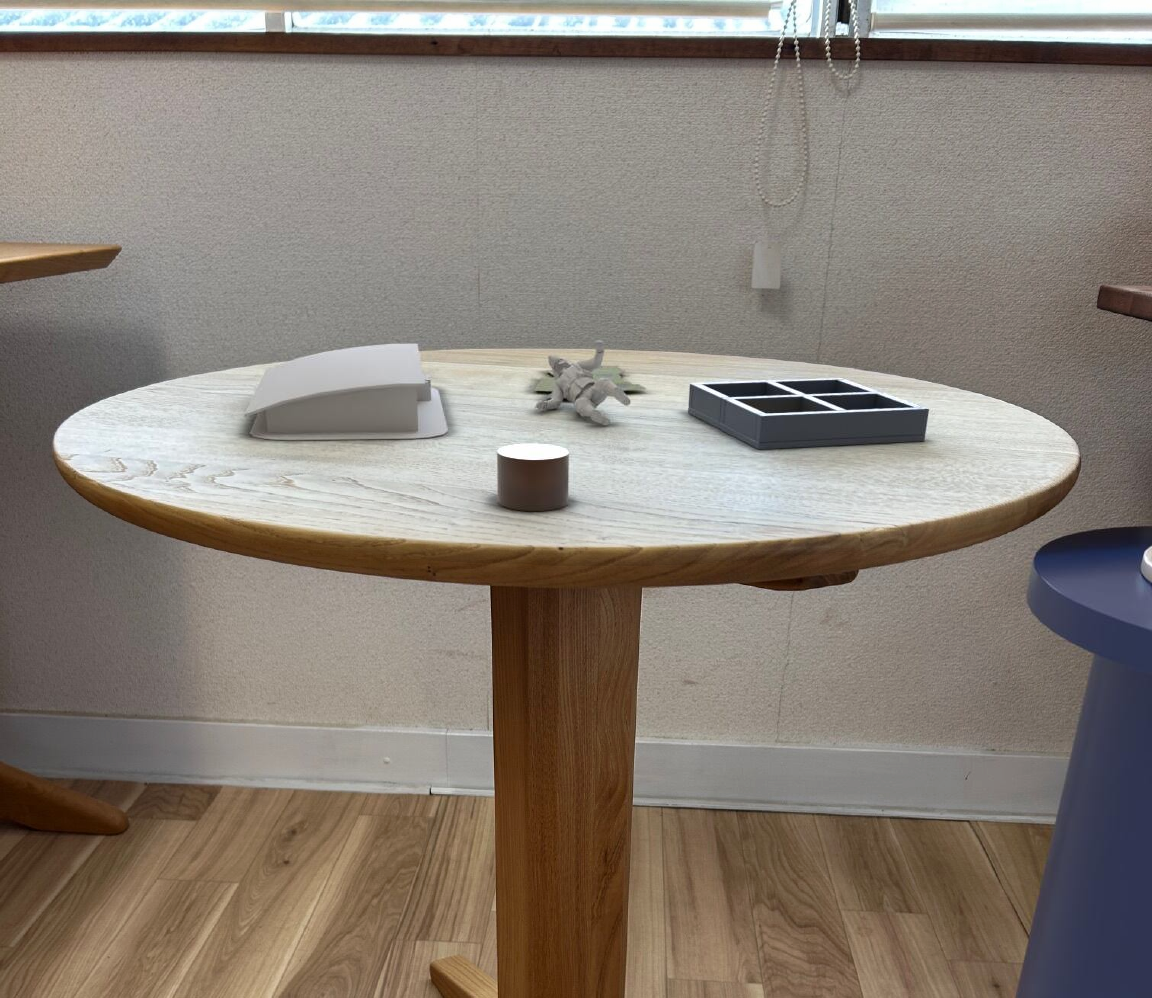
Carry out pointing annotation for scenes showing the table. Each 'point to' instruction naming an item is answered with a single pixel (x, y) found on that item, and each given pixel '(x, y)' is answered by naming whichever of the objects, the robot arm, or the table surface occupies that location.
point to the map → (598, 373)
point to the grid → (806, 413)
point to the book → (348, 397)
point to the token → (532, 477)
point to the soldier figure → (582, 386)
